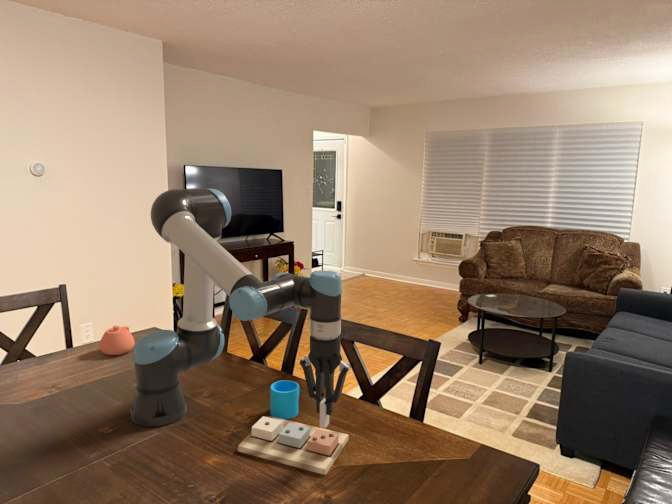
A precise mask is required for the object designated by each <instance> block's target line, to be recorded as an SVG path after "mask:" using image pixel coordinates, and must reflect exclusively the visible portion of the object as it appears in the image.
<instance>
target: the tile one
mask: <svg viewBox="0 0 672 504" xmlns="http://www.w3.org/2000/svg"><path fill="white" fill-rule="evenodd" d="M282 430H283V421H282V420H277V419H273V418H269V417H268V416H264V415H263V416H261V418H259V420H257V422H255V423H254V424H253V425H252V426H251V433H252V436H254V437H255V438H257V439H261V440H265V441H269V442H273V441H274V440H275V439H276V438H277V437H278V436H279V433H280V432H281V431H282Z"/></svg>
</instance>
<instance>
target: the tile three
mask: <svg viewBox="0 0 672 504" xmlns="http://www.w3.org/2000/svg"><path fill="white" fill-rule="evenodd" d="M338 439H339V434H337V433H332V432H328V431H324V430H320V429H317V430H316V431H315V432H314V433H313V435H312V436H311V437H310V438H309V440H308V441H307V440H306V443H307V450H309V451H310V452H312V453H316V454H317V453H318V454H320V455H324V456H327V457H331V456H332V454H333V453H334V451H335V450H336V448H335V447H336V446H337V444H338Z"/></svg>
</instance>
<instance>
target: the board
mask: <svg viewBox="0 0 672 504" xmlns="http://www.w3.org/2000/svg"><path fill="white" fill-rule="evenodd" d="M267 417H269V418H273V419H277V420H282V421H283V429H284V428H285V427H286V426H287V425H288V423H289V422H290V423H294V424H298V425H303V426H307V427H310V437H311V436H312V435H313V433H314V432H315V431H316V430H317V429H320V430H324V431H328V432H332V433H337V434H339V439H338V444H337V446H336V447H335V449H334V450H333V452H332V453H331V455H330V456H327V455H323V454H320V453H318V454H317V453H316V452H312V451H309V450H307V441H308V440H309V438H310V437H309V438H308V439H307V440H306V442H305V443H304V444H303V445H302V447H301V448H296V447H292V446H288V445H284V444H281V443H279V435H277V436H276V437H275V438H274V439H273V440H272V441H269V440H265V439H261V438H257V437H254V436H252V432H250V433H249V435H248V436H246V437H245V438H244V439H243V440H242V441H241V442H240V443H239V444H238V445H237V452H239V453H243V454H247V455H251V456H253V457H257V458H260V459H264V460H268V461H272V462H276V463H279V464H283V465H287V466H290V467H295V468H297V469H298V468H299V469H301V470H304V471H309V472H313V473H317V474H319V475H324V476H326V475H327V474H328V472H329V470H330V469H331V467H332V466H333V464H334V463H335V461H336V460H337V459H338V456H339V455H340V454H341V452H342V451H343V449H344V448H345V446H346V444H347V442H348V441H349V435H350V434H347V433H343V432H339V431H336V430H331V429H327V428H321V427H320V426H319V427H318V426H314V425H310V424H305V423H302V422H301V423H300V422H297V421H292V420H290V419H280V418H276V417H273V416H272V415H268V416H267Z"/></svg>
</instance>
